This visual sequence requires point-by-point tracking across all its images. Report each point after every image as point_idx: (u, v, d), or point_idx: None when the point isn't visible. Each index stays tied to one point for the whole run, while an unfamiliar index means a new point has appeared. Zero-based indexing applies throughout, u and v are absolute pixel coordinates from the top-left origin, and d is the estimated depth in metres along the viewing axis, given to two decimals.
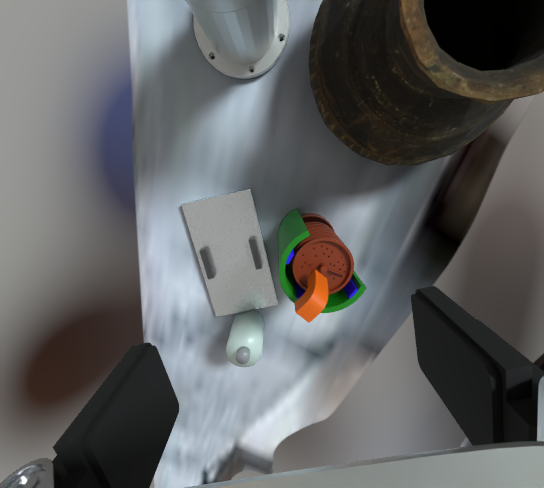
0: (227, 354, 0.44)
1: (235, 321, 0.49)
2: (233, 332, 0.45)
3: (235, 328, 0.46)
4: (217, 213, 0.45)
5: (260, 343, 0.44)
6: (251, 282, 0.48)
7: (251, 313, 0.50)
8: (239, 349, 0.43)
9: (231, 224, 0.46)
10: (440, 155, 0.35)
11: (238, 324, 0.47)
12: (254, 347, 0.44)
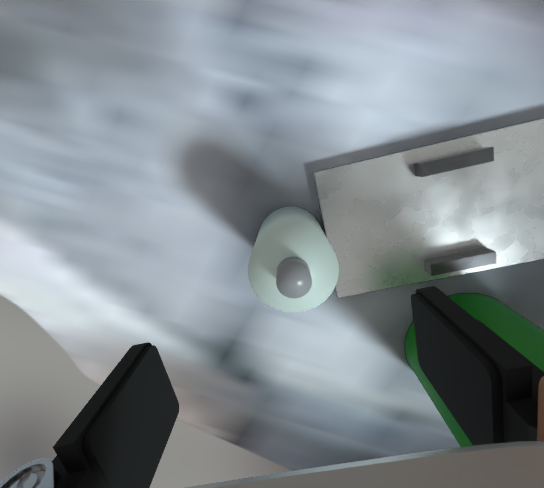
0: (285, 232, 0.17)
1: (316, 222, 0.22)
2: (324, 235, 0.19)
3: (324, 235, 0.20)
4: None
5: None
6: (391, 249, 0.24)
7: None
8: (307, 266, 0.17)
9: (522, 214, 0.23)
10: None
11: None
12: (305, 297, 0.18)
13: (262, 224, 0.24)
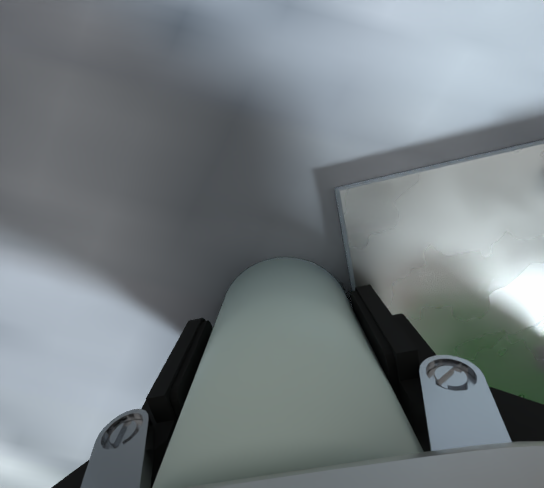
0: (265, 450, 0.04)
1: (345, 305, 0.10)
2: (388, 390, 0.06)
3: (381, 371, 0.07)
4: None
5: None
6: (494, 347, 0.12)
7: None
8: None
9: None
10: None
11: (377, 361, 0.08)
12: None
13: (224, 301, 0.11)
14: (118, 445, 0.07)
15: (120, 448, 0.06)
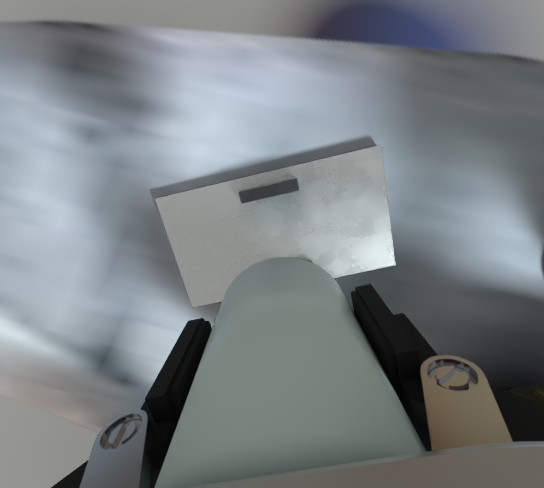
0: (269, 448, 0.04)
1: (344, 304, 0.10)
2: (389, 388, 0.06)
3: (381, 369, 0.07)
4: (359, 211, 0.26)
5: None
6: (232, 265, 0.27)
7: None
8: None
9: (338, 234, 0.27)
10: None
11: (377, 359, 0.08)
12: None
13: (223, 301, 0.11)
14: (117, 445, 0.07)
15: (119, 448, 0.06)
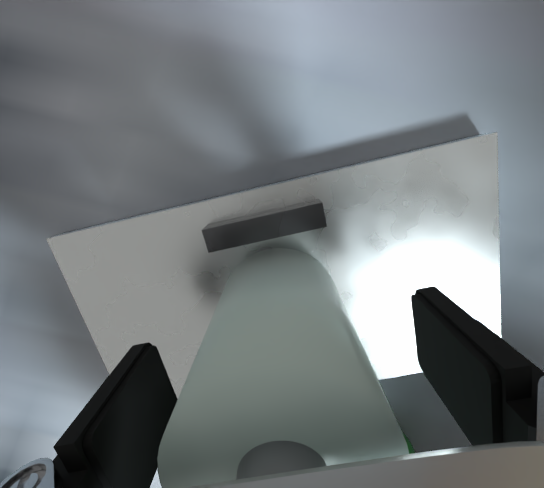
0: (257, 380, 0.06)
1: (331, 288, 0.11)
2: (360, 350, 0.08)
3: (357, 338, 0.08)
4: (440, 263, 0.13)
5: None
6: None
7: None
8: None
9: (398, 304, 0.14)
10: None
11: (356, 332, 0.09)
12: None
13: (225, 286, 0.12)
14: None
15: None
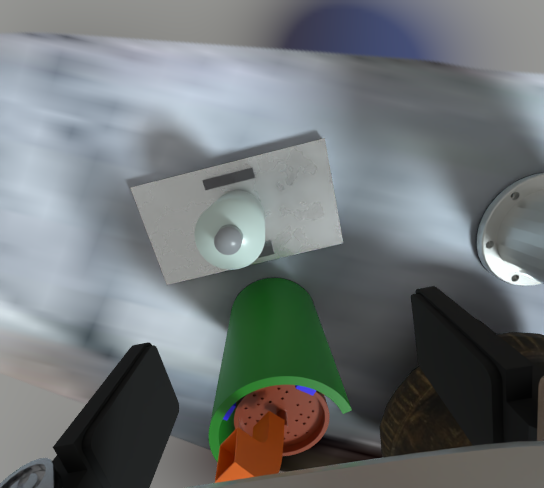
0: (221, 204, 0.22)
1: (255, 201, 0.27)
2: (256, 209, 0.24)
3: (258, 209, 0.25)
4: (309, 196, 0.30)
5: None
6: None
7: None
8: (239, 231, 0.22)
9: (292, 216, 0.30)
10: None
11: (261, 212, 0.26)
12: (240, 256, 0.23)
13: None
14: None
15: None
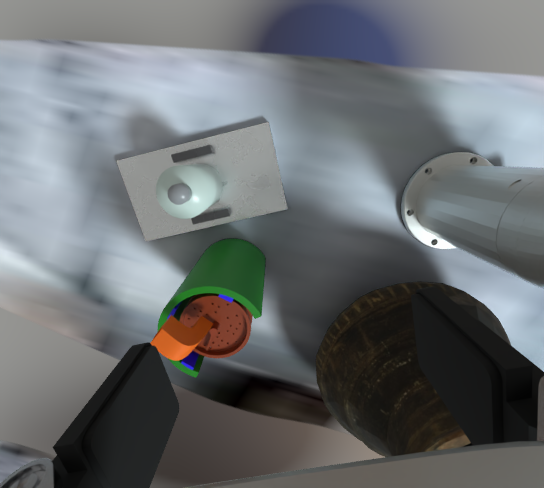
0: (175, 167, 0.29)
1: (211, 171, 0.35)
2: (205, 174, 0.31)
3: (208, 175, 0.32)
4: (258, 169, 0.37)
5: None
6: None
7: (220, 191, 0.37)
8: (188, 187, 0.29)
9: (245, 186, 0.38)
10: (326, 401, 0.38)
11: (212, 178, 0.33)
12: (191, 208, 0.31)
13: None
14: None
15: None
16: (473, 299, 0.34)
